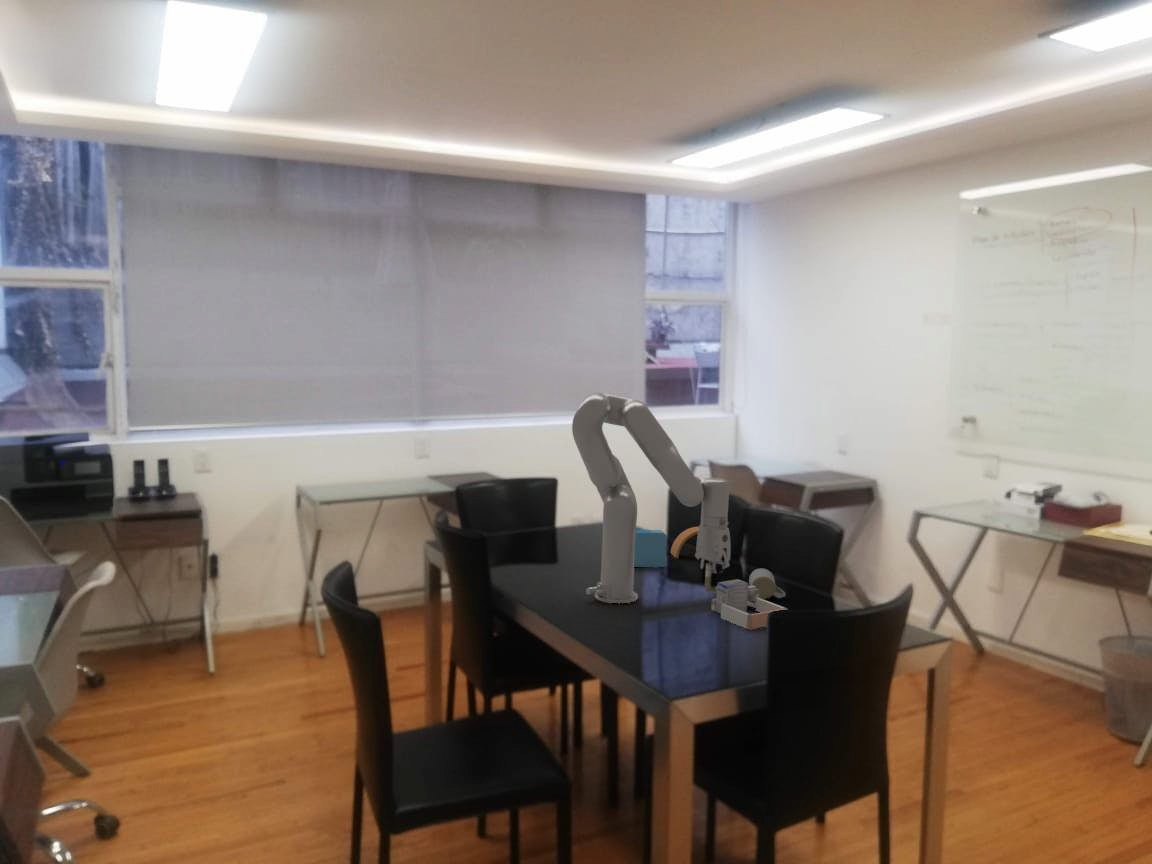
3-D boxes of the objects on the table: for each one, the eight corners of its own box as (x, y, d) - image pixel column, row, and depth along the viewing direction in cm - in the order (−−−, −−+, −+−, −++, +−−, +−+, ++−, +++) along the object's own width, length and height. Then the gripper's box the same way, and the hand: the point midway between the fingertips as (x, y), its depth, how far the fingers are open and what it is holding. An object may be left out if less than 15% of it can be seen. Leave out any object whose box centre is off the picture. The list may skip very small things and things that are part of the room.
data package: (662, 564, 294) (664, 529, 292) (665, 568, 289) (667, 532, 288) (627, 564, 292) (628, 529, 291) (629, 568, 288) (631, 532, 286)
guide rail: (760, 611, 247) (760, 606, 246) (712, 592, 263) (713, 587, 263) (765, 610, 248) (766, 605, 248) (717, 591, 264) (718, 586, 264)
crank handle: (717, 612, 242) (719, 573, 241) (692, 601, 251) (694, 564, 250) (758, 604, 251) (760, 567, 250) (732, 595, 260) (734, 558, 258)
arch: (729, 557, 308) (731, 529, 307) (675, 558, 303) (677, 530, 302) (722, 553, 314) (724, 526, 313) (670, 554, 309) (671, 526, 308)
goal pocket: (749, 630, 229) (750, 615, 229) (720, 618, 238) (721, 604, 238) (787, 623, 237) (788, 608, 236) (758, 611, 246) (758, 597, 246)
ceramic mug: (750, 599, 258) (752, 574, 257) (747, 591, 266) (749, 566, 265) (786, 602, 257) (788, 577, 256) (783, 594, 265) (785, 570, 264)
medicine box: (735, 608, 248) (737, 578, 247) (747, 613, 244) (748, 582, 244) (715, 612, 244) (716, 582, 243) (726, 617, 240) (727, 586, 239)
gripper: (744, 526, 245) (740, 589, 247) (704, 515, 259) (701, 575, 261) (724, 528, 241) (720, 593, 243) (685, 517, 255) (681, 578, 257)
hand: (710, 583), depth 252 cm, fingers closed on crank handle, 3 cm apart
